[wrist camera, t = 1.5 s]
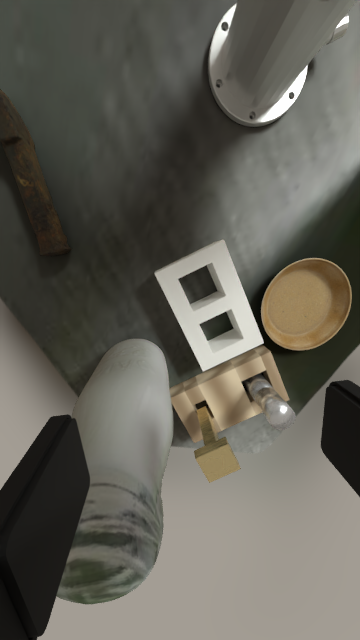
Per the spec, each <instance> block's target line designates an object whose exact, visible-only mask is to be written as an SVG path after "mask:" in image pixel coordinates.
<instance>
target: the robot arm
mask: <svg viewBox="0 0 360 640" xmlns="http://www.w3.org/2000/svg"><path fill="white" fill-rule="evenodd" d="M356 1H357V0H238V1H237V3H236V4H235V5H233V6H232V7H231V8H230V9H229V10H228V11H227V12H226V13H225V14H224V16H223V18H222V19H221V21H220V22H219V24H218V26H217V28H216V30H215V33H214V35H213V38H212V42H211V46H210V51H209V57H208V77H209V84H210V87H211V90H212V94H213V96H214V98H215V100H216V102H217V104H218V105H219V107H220V108H221V109H222V111H223V112H224V113H225V114H226V115H227V116H228V117H229V118H230V119H232V120H234V121H235V122H237V123H239V124H242V125H245V126H250V127H259V126H265V125H267V124H270V123H273V122H274V121H276V120H277V119H279V118H280V117H281V116H282V115H283V114H285V113H286V112H287V111H288V109H289V108H290V107H291V106H292V105H293V103H294V102H295V101H296V99H297V97H298V96H299V94H300V92H301V90H302V87H303V85H304V82H305V78H306V74H307V68H308V64H309V63H310V61H311V60H312V59H313V57H314V56H315V55H316V54H317V53H318V52H319V51H320V49H321V48H322V46H323V45H325V44H329V43H331V42H333V41H335V40H337V39H339V38H341V37H343V36H344V34H345V33H346V31H347V28H348V24H349V18H348V15H347V13H348V12H349V11H350V9H351V8H352V7H353V5H354V4H355V3H356ZM218 87H219V88H218ZM250 118H251V119H250ZM321 448H322V451H323V453H324V454H325V456H326V457H327V458H328V459H329V461H330V462H331V463H332V464H333V465H334V467H335V468H336V469H337V470H338V471H339V472H340V474H341V475H342V476H343V477H344V479H345V480H346V481H347V482H348V483H349V485H350V486H351V487H352V488H353V489H354V491H355V492H356V493H357V494H358V495H359V497H360V387H359V386H358V385H356V384H355V383H353V382H351V381H349V380H344V381H335V382H332V383H330V385H329V387H327V388H326V396H325V407H324V417H323V427H322V438H321ZM89 487H90V475H89V470H88V466H87V462H86V458H85V454H84V450H83V446H82V442H81V437H80V433H79V429H78V425H77V421H76V419H75V418H71V416H70V415H61V416H53V417H51V418H50V419H49V420H48V422H47V423H46V425H45V426H44V427H43V429H42V430H41V432H40V433H39V435H38V436H37V438H36V439H35V441H34V442H33V444H32V445H31V446H30V448H29V449H28V451H27V452H26V454H25V455H24V457H23V458H22V460H21V461H20V463H19V464H18V466H17V467H16V468H15V470H14V471H13V472H12V474H11V476H10V477H9V478H8V480H7V481H6V483H5V484H4V486H3V487H2V489H1V490H0V640H37V637H39V636H41V635H43V633H44V631H45V629H46V627H47V624H48V621H49V618H50V615H51V612H52V608H53V605H54V602H55V598H56V595H57V592H58V589H59V585H60V582H61V579H62V576H63V572H64V569H65V566H66V563H67V559H68V556H69V553H70V549H71V546H72V543H73V540H74V536H75V533H76V530H77V527H78V523H79V520H80V517H81V514H82V510H83V507H84V504H85V500H86V497H87V494H88V491H89Z"/></svg>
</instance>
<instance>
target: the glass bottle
mask: <svg viewBox="0 0 360 640" xmlns="http://www.w3.org/2000/svg"><path fill="white" fill-rule="evenodd" d="M72 418H75V419H76V421H77V425H78V429H79V433H80V437H81V442H82V446H83V450H84V454H85V458H86V462H87V466H88V470H89V475H90V487H89V491H88V494H87V497H86V500H85V504H84V507H83V510H82V514H81V517H80V520H79V523H78V527H77V530H76V533H75V536H74V540H73V543H72V546H71V549H70V553H69V556H68V559H67V563H66V566H65V569H64V572H63V576H62V579H61V582H60V585H59V589H58V592H57V595H56V596H57V597H59V598H61V599H64V600H67V601H71V602H76V603H82V604H95V603H102V602H108V601H112V600H115V599H117V598H120V597H122V596H124V595H126V594H128V593H129V592H131V591H133V590H134V589H136V588H137V587H138V586H139V585H140V584H141V583H142V582H143V581H144V580H145V579H146V577H147V576H148V575H149V573H150V572H151V570H152V568H153V565H154V564H155V562H156V559H157V556H158V553H159V549H160V545H161V540H162V534H163V506H162V499H161V486H162V478H163V475H164V472H165V468H166V464H167V460H168V456H169V451H170V447H171V443H172V438H173V410H172V403H171V396H170V390H169V377H168V370H167V365H166V360H165V357H164V354H163V352H162V351H161V349H160V348H159V347H158V346H157V345H155V344H154V343H152V342H150V341H148V340H145V339H128V340H125V341H122V342H120V343H118V344H116V345H114V346H113V347H112V348H110V349H109V350H108V351H107V352H106V353H105V355H104V356H103V358H102V359H101V361H100V363H99V364H98V366H97V367H96V369H95V371H94V372H93V374H92V376H91V377H90V379H89V381H88V382H87V384H86V386H85V387H84V389H83V391H82V392H81V394H80V396H79V398H78V400H77V402H76V404H75V407H74V409H73V413H72Z"/></svg>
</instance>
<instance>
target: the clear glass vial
mask: <svg viewBox="0 0 360 640" xmlns="http://www.w3.org/2000/svg"><path fill="white" fill-rule="evenodd" d="M242 382H243V384H244V385H245V387H246V388H247V390H248V391H249V393H250V394H251V396H252V397H253V399H254V400H255V402H256V403H257V405H258V406H259V408H260V409H261V411H262V412H263V414H264V415H265V417H266V418H267V420H268V421H269V423H270V424H271V426H272V427H273V428H274V429H277V430H284V429H287V428H289V427H290V426H291V425H292V424H293V423H294V421H295V413H294V411H293V410H292V409H291V408H290V407H289V405H288V404H287V403H286V402H285V401H284V400H283V398H282V397H281V396H280V395H279V394H278V393H277V392H276V390H275V389H274V388H273V387H272V386H271V385H270V384H269V382H268V381H267V380H266V379H265V378H264V377H263V375H262V374H261V373H259V374H257V375H254V376H252V377H250V378H248V379H246V380H244V381H242Z"/></svg>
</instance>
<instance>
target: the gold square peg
mask: <svg viewBox="0 0 360 640" xmlns="http://www.w3.org/2000/svg"><path fill="white" fill-rule="evenodd" d="M196 411H197V415H198V419H199V423H200V427H201V432H202V436H203V440H204V444H205V446H204V447H202V448H199V449H197V450H195V451H194V453H195V458H196V460H197V462H198V464H199V465H200V467H201V469H202V471H203V473H204V474H205V476H206V478H207V479H208V481H209V483H210V482H212V481H214V480H217V479H219V478H221V477H223V476H226V475H228V474H230V473H232V472H235V471H237V470H239V469H241V468H240V466H239V463H238V461H237V459H236V457H235V455H234V453H233V451H232V449H231V447H230V445H229V443H228V441H227V439H226V437H224V438H221V439H219V438H218V435H217V432H216V429H215V425H214V422H213V420H212V418H211V416H210V414H209V412H208V410H207V408H206V406H205V407H203V408H200V409H198V410H196Z"/></svg>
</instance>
